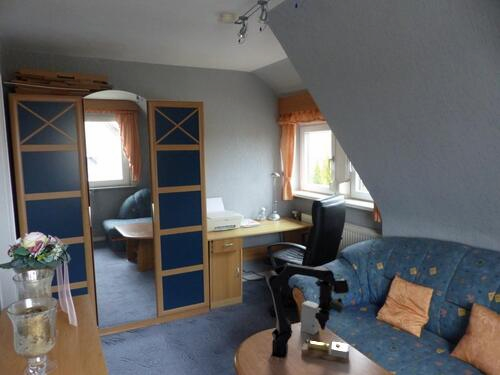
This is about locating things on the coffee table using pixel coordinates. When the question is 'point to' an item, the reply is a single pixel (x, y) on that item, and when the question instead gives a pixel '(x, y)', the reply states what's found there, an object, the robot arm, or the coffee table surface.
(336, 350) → the grey squarish block
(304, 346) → the body
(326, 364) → the coffee table surface
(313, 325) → the skincare box
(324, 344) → the lever
